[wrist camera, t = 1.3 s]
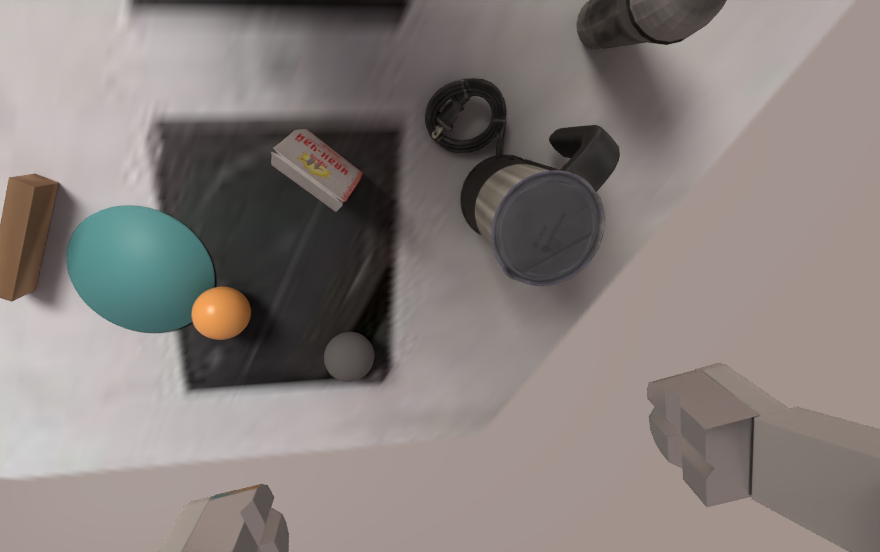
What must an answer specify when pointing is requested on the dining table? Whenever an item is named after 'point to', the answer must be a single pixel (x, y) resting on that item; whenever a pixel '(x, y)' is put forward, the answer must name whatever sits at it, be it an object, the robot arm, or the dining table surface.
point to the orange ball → (221, 313)
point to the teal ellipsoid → (139, 268)
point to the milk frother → (529, 190)
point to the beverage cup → (643, 21)
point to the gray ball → (349, 356)
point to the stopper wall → (24, 233)
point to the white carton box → (316, 168)
